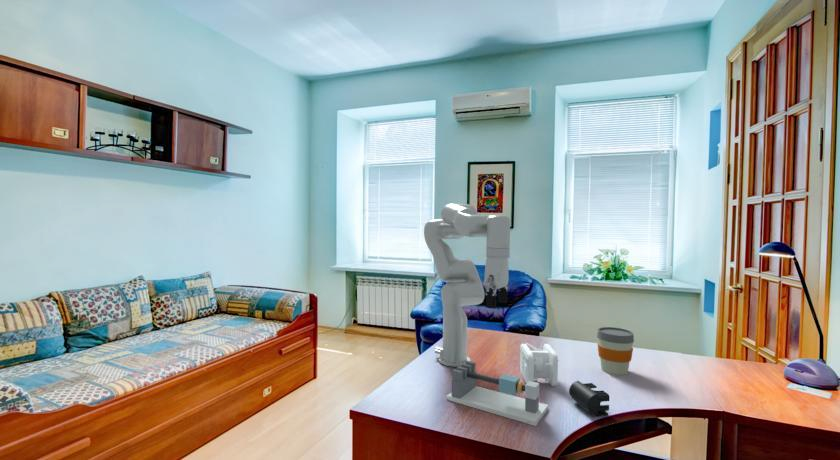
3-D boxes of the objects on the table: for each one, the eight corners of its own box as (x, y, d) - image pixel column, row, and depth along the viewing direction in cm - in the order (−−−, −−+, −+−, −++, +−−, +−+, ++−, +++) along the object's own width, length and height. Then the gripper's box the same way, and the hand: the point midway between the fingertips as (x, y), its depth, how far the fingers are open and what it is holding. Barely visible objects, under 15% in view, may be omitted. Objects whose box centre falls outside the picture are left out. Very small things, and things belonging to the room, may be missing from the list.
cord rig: (446, 399, 123) (446, 370, 123) (464, 386, 133) (464, 359, 133) (535, 426, 108) (536, 392, 108) (548, 409, 118) (548, 378, 118)
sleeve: (498, 391, 118) (498, 378, 118) (503, 386, 121) (503, 373, 121) (514, 395, 115) (515, 382, 115) (519, 390, 119) (519, 377, 119)
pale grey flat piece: (567, 361, 161) (567, 358, 161) (515, 367, 155) (515, 364, 154) (534, 343, 185) (534, 340, 185) (488, 347, 179) (488, 345, 179)
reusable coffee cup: (596, 373, 146) (597, 333, 146) (595, 362, 158) (596, 325, 158) (635, 379, 142) (636, 337, 141) (631, 367, 153) (632, 329, 153)
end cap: (568, 402, 123) (569, 381, 122) (589, 401, 124) (589, 379, 124) (587, 418, 113) (588, 395, 113) (610, 416, 114) (610, 393, 114)
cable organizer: (558, 391, 131) (559, 356, 131) (526, 389, 132) (526, 355, 131) (547, 373, 146) (548, 342, 146) (518, 372, 147) (518, 341, 146)
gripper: (497, 251, 139) (496, 299, 139) (475, 254, 124) (475, 308, 125) (518, 252, 135) (517, 302, 135) (498, 255, 120) (497, 311, 121)
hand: (496, 305), depth 130 cm, fingers open, 9 cm apart
